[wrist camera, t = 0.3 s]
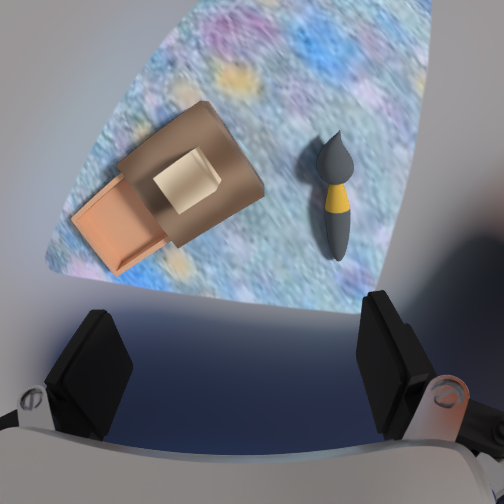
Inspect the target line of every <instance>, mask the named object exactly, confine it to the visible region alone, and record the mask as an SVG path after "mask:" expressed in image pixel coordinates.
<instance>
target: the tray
mask: <svg viewBox="0 0 504 504" xmlns="http://www.w3.org/2000/svg"><path fill="white" fill-rule="evenodd" d="M71 220H72V222H73V223H74V224H75V226H76V227H77V228H78V230H79V231H80V232H81V234H82V235H83V236H84V238H85V239H86V240H87V242H88V243H89V244H90V246H91V247H92V248H93V249H94V251H95V252H96V253H97V254H98V256H99V257H100V258H101V259H102V261H103V262H104V263H105V264H106V266H107V267H108V268H109V269H110V270H111V272H112V273H113V274H114V275H115V276H116V277H118V276H119V275H120V274H122V273H123V272H125V271H126V270H128V269H129V268H131V267H132V266H134V265H135V264H137V263H138V262H140V261H141V260H143V259H144V258H146V257H147V256H149V255H150V254H152V253H153V252H155V251H156V250H158V249H159V248H161V247H162V246H164V245H165V244H167V243H168V242H170V241H171V239H170V238H169V237H168V235H167V234H166V233H165V231H164V230H163V229H162V227H161V226H160V225H159V223H158V222H157V221H156V219H155V218H154V217H153V215H152V214H151V213H150V211H149V210H148V209H147V207H146V206H145V205H144V203H143V202H142V201H141V199H140V198H139V196H138V195H137V194H136V192H135V191H134V190H133V188H132V187H131V185H130V184H129V183H128V181H127V180H126V178H125V177H124V176H123V174H122V173H120V174H119V175H118V176H116V177H115V178H114V179H113V180H112V181H111V182H110V183H108V184H107V185H106V186H105V187H104V188H103V189H102V190H101V191H99V192H98V193H97V194H96V195H95V196H94V197H93V198H92V199H91V200H90V201H89V202H88V203H86V204H85V205H84V206H83V207H82V208H81V209H80V210H79V211H78V212H77V213H76V214H75V215H74V216H73V217H72V218H71Z"/></svg>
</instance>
